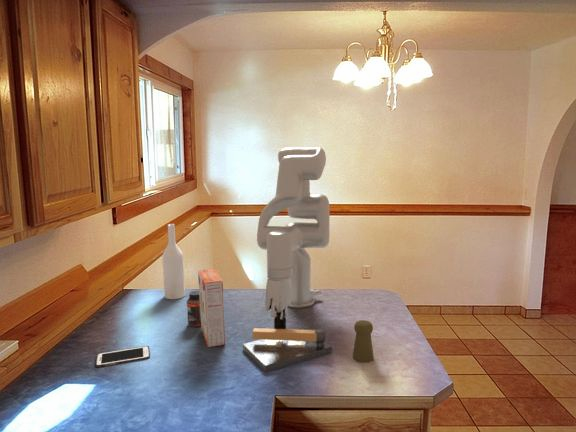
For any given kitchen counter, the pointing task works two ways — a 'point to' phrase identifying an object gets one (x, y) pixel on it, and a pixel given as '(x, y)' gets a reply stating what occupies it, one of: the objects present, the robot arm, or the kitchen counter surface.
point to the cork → (363, 342)
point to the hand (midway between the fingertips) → (280, 329)
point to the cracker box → (211, 307)
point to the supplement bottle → (194, 309)
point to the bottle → (173, 268)
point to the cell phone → (122, 356)
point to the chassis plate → (284, 352)
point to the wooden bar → (289, 334)
